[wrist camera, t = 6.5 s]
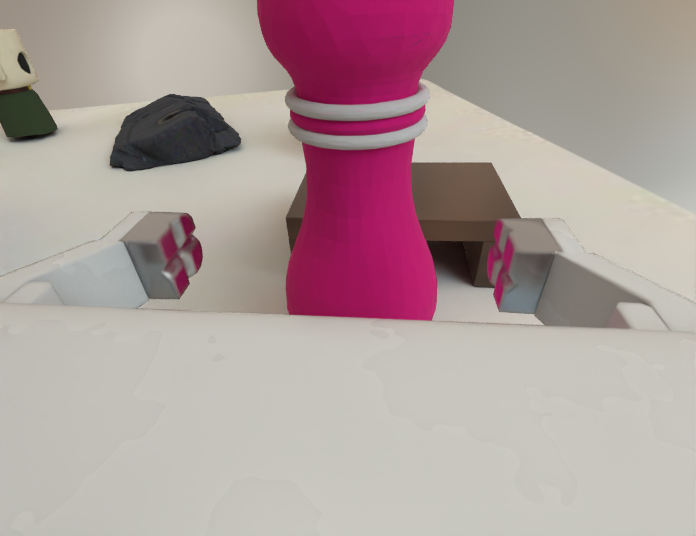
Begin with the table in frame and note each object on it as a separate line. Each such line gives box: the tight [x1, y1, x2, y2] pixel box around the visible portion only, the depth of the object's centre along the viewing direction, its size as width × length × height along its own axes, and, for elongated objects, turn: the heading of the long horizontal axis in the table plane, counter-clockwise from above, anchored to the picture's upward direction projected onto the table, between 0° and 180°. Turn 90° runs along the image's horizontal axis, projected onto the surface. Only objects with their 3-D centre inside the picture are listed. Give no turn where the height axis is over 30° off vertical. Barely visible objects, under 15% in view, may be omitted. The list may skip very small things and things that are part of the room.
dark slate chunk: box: [110, 94, 241, 171], centre depth 52 cm, size 15×22×5 cm
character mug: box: [0, 29, 58, 138], centre depth 53 cm, size 11×7×13 cm, turn 35°
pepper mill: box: [257, 0, 454, 321], centre depth 16 cm, size 7×7×20 cm
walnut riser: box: [286, 163, 521, 287], centre depth 28 cm, size 14×9×5 cm, turn 85°
